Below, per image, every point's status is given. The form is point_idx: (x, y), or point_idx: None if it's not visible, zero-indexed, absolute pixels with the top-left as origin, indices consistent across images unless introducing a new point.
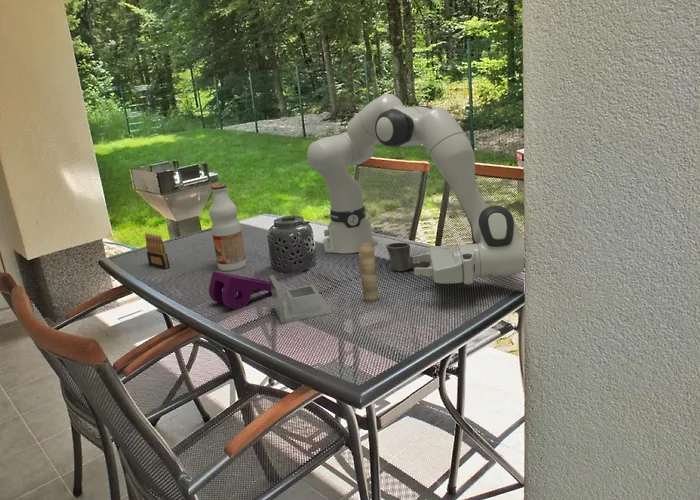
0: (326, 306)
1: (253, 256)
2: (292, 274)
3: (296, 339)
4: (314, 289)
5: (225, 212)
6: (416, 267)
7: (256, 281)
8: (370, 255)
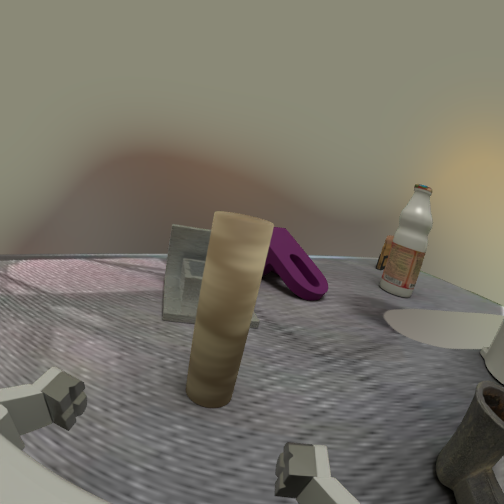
0: (184, 313)
1: (432, 304)
2: (381, 321)
3: (95, 273)
4: None
5: (406, 214)
6: (65, 380)
7: (279, 257)
8: (210, 249)
